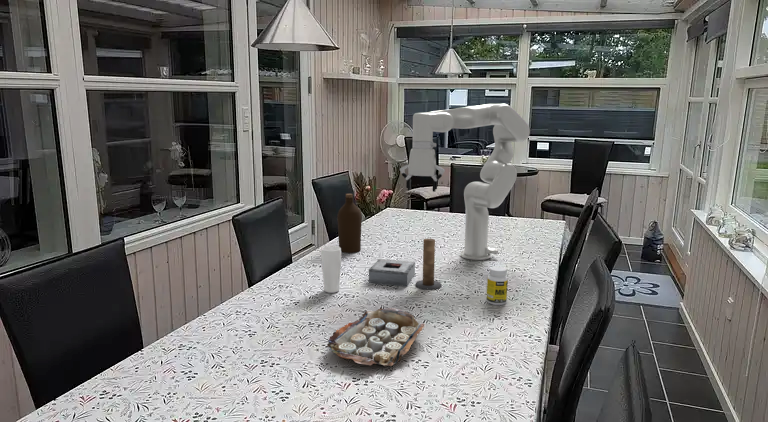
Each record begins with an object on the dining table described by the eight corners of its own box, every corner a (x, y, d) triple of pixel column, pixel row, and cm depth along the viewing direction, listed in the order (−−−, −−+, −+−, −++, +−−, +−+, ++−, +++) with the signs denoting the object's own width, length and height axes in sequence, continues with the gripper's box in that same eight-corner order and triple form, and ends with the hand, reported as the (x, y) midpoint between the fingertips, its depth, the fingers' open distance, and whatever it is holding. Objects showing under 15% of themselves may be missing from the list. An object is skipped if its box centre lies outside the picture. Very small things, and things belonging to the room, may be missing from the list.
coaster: (442, 282, 189) (442, 280, 189) (439, 290, 181) (439, 289, 181) (418, 280, 192) (418, 278, 192) (413, 288, 183) (413, 286, 183)
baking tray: (396, 383, 122) (397, 362, 120) (313, 365, 129) (313, 345, 128) (432, 331, 149) (433, 313, 148) (362, 319, 157) (362, 302, 155)
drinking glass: (345, 289, 182) (344, 247, 179) (335, 295, 176) (334, 252, 173) (328, 286, 185) (327, 244, 182) (317, 292, 179) (317, 249, 176)
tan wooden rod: (434, 282, 188) (435, 238, 184) (432, 286, 184) (434, 241, 181) (423, 281, 189) (424, 238, 185) (421, 285, 185) (422, 240, 182)
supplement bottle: (494, 306, 167) (496, 272, 165) (482, 300, 172) (483, 267, 170) (510, 303, 170) (512, 269, 167) (497, 297, 175) (499, 264, 173)
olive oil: (346, 255, 224) (346, 196, 219) (332, 249, 232) (332, 193, 227) (366, 250, 231) (366, 194, 226) (352, 245, 239) (352, 191, 234)
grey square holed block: (414, 274, 198) (415, 261, 197) (407, 286, 185) (407, 272, 184) (378, 271, 202) (378, 258, 201) (368, 283, 189) (368, 269, 188)
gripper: (446, 145, 201) (445, 190, 204) (402, 144, 205) (401, 188, 209) (443, 147, 194) (442, 193, 197) (397, 146, 198) (397, 191, 201)
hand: (421, 190), depth 203 cm, fingers open, 9 cm apart
